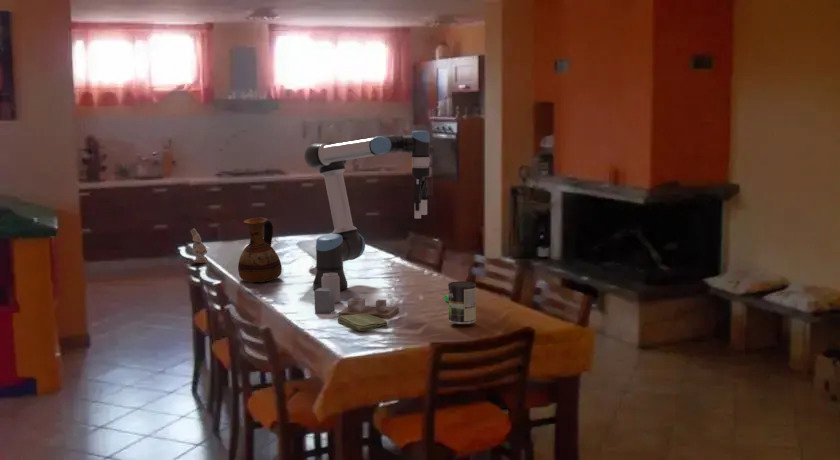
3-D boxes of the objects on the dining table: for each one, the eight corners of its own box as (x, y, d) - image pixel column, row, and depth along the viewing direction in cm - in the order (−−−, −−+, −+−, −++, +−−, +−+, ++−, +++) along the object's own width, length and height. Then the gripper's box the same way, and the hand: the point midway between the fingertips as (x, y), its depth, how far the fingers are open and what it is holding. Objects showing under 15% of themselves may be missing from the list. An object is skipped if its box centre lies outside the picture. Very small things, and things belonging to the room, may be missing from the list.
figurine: (189, 266, 483) (187, 228, 481) (205, 264, 488) (203, 226, 486) (196, 268, 476) (194, 229, 474) (212, 266, 481) (210, 228, 478)
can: (343, 300, 389) (342, 272, 387) (335, 304, 382) (335, 275, 380) (326, 300, 391) (325, 271, 390) (318, 303, 384) (318, 274, 383)
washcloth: (359, 332, 334) (359, 323, 334) (335, 323, 348) (335, 315, 348) (390, 327, 341) (390, 318, 341) (365, 319, 356) (365, 310, 355)
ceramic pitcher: (230, 283, 432) (227, 219, 428) (253, 276, 450) (251, 214, 447) (267, 286, 424) (265, 220, 421) (289, 278, 443) (287, 215, 439)
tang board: (338, 316, 358) (338, 302, 358) (349, 309, 372) (349, 295, 371) (388, 318, 354) (388, 304, 353) (398, 311, 367) (398, 297, 366)
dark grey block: (315, 313, 365) (314, 290, 364) (320, 310, 371) (319, 287, 370) (329, 314, 363) (329, 291, 362) (334, 310, 369) (334, 288, 368)
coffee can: (450, 324, 342) (449, 286, 341) (446, 318, 353) (446, 281, 351) (478, 323, 343) (477, 285, 342) (474, 317, 353) (473, 280, 352)
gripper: (423, 169, 387) (423, 220, 389) (434, 165, 411) (434, 213, 414) (405, 168, 388) (406, 219, 391) (418, 165, 412) (418, 213, 415)
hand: (420, 216), depth 402 cm, fingers open, 13 cm apart
